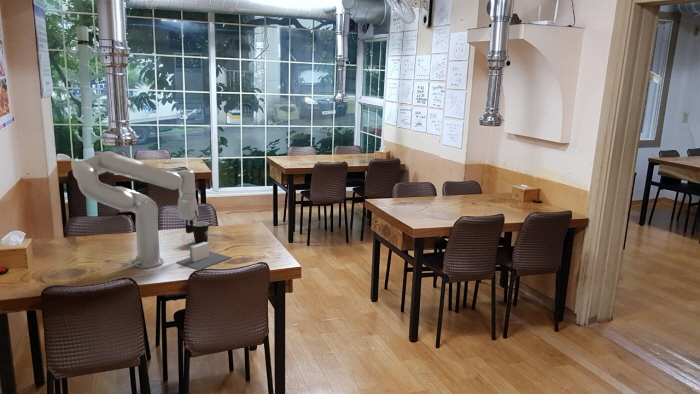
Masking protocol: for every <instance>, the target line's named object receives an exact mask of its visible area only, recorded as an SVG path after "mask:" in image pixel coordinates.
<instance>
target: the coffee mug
mask: <svg viewBox="0 0 700 394" xmlns="http://www.w3.org/2000/svg"><path fill="white" fill-rule="evenodd" d="M209 224H210V223H209V222H207V221H197V222H195V223H194V224H193V232H192V233H193V238H194V243H195V245H196V244H199V243H202V242H207V243H208V242H209V241H208V238H209V237H208V236H209V227H210V225H209Z"/></svg>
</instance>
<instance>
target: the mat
mask: <svg viewBox="0 0 700 394" xmlns="http://www.w3.org/2000/svg"><path fill="white" fill-rule="evenodd" d="M230 259H232V257H231V256H228V255H225V254H221V253H217V252H214V251H210V250H209V257H206V258H204V259H201V260H198V261H195V262H194V261H191V260H190V257H187V258H184V259H181V260H179V261H176V262H175V263H176V264H179V265H182V266H185V267H188V268H192V269H194V270H197V271H200V270H199V269H201V270H204V269H206V268H209V267H211V266H214V265H217V264H220V263H222V262H225V261H227V260H230Z"/></svg>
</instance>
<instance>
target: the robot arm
mask: <svg viewBox="0 0 700 394" xmlns="http://www.w3.org/2000/svg"><path fill="white" fill-rule="evenodd" d="M72 168H73V169H72V175H73V178H75V180H76V181H77V186H78V188H79V190H80V192H81V193H82V195H83V196H85V197H86V198H87V199H89V200H92V201H94V202H97V203H100V204H102V205H106V206H108V207H111V208H113V209H116V210H119V211H129V212H131V213H134V215H135V233H136V234H135V235H136V237H135V238H136V249H137V255H136V256H135V258H134V259H131V260H128V265H130V266H131V265H134V266H135V267H136V268H140V269H151V268H156V267H159V266H161V265H163V264H164V258H162V257H161V255H160V252H161V251H160V239H159V237H160V236H159V221H158V217H159V208H158V205H157V203H156V201H155V200H153V199H152V198H150V196H147V195H146V194H143V193H140V192H138V191H135V190H132V189H130V188H127V187H124V186H121V185H120V186H112V185H110V184H107V183H104V182H101V181H100V179H99V175H102V174H104V173H106V172H108V173H110V174H111V173H112V174H115V175H119V176H122V177H127V178H129V179H133V180H137V181H140V182H143V183H148V184H151V185H155V186H158V187H162V188H165V189H169V190H178V200H177V217H178V218H179V219H180V220H181V221H183V223H184V225H185V233H186V234H191V233H193V224H194V223H196V222H198V219H199V207H198V202H197V198H196V197H197V196H196V182H195V181H196V178H195V176H196V175H195V172H194V170H192V169H181V170H170V169H169V170H168V169H167V170H164V169H161V168H159V167H156V166H154V165H152V164H149V163H147V162H145V161H142V160H139V159H135V158H131V157H128V156H126V155H121V154H119V153H116V152H113V151H109V150H108V151H103V152H101V153H98V154H96V155H93V156H90V157H88V158H86V159H84V160H81V161H79V162H77V163H76V164H75V165H74V166H73V167H72Z"/></svg>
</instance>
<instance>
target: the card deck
mask: <svg viewBox="0 0 700 394" xmlns="http://www.w3.org/2000/svg"><path fill="white" fill-rule="evenodd" d="M209 245H210V242H208V241H207V242H202V243H199V244H196V243H195V244H193V245H190V246H189V256H190V257H189V258H190V260H191V261H194V262H195V261H198V260H201V259H204V258H206V257H209V251H210V246H209Z"/></svg>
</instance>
